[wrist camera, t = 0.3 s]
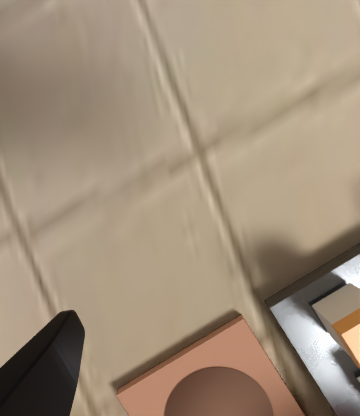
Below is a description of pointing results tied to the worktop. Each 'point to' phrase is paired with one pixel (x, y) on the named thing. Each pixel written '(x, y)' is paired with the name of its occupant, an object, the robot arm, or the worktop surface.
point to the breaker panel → (322, 330)
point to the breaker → (342, 319)
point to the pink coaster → (213, 380)
